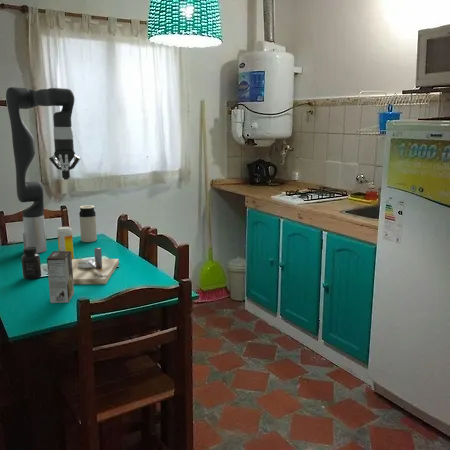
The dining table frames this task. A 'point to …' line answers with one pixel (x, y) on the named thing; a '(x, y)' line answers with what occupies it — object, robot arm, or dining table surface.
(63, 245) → the yellow white bottle
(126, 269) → the dining table surface
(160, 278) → the dining table surface
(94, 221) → the travel mug
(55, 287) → the coffee box
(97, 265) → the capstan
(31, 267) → the supplement bottle
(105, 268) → the wooden cutting board
